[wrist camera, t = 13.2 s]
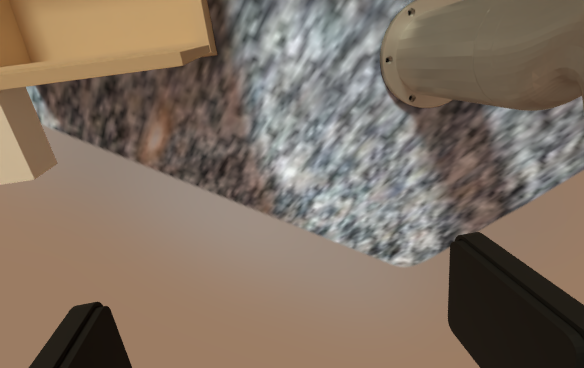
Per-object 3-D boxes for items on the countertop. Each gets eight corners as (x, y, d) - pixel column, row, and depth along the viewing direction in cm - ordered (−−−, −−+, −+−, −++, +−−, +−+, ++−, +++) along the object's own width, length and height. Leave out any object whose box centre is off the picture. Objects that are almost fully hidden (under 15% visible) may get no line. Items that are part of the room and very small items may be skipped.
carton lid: (179, 51, 16) (203, 155, 18) (208, 44, 30) (220, 101, 32) (-314, 116, 14) (-226, 221, 16) (-33, 75, 29) (-5, 133, 31)
